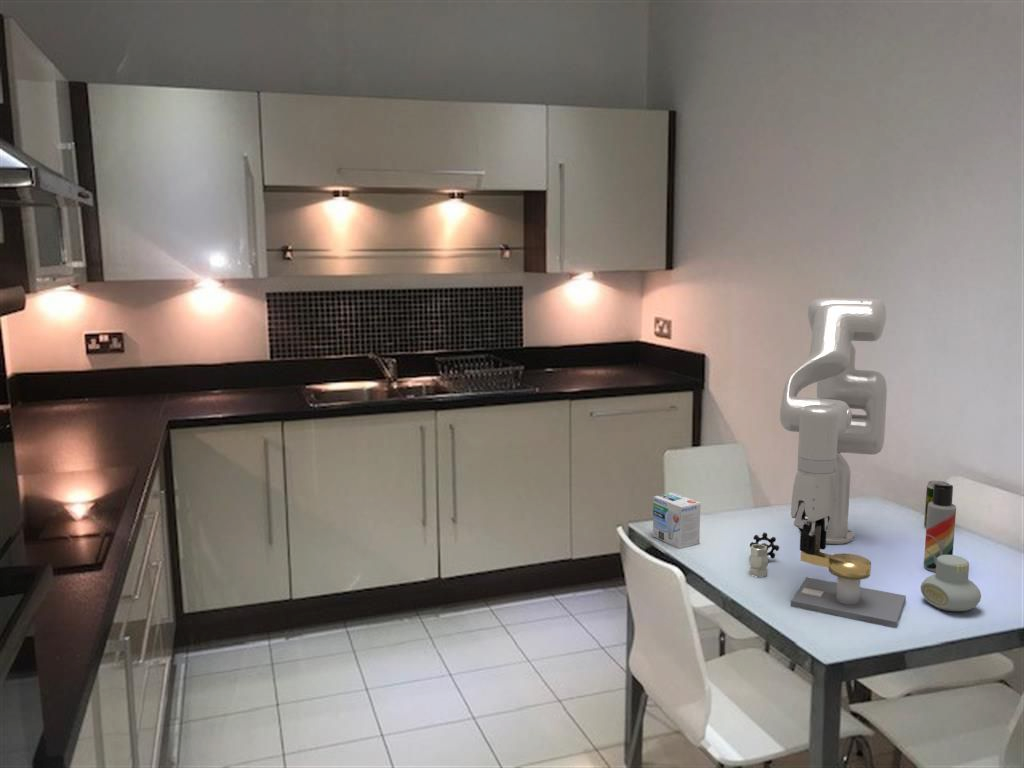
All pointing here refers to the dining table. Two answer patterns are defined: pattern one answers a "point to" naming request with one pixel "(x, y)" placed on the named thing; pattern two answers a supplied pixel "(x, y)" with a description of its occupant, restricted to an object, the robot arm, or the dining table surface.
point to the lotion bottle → (939, 526)
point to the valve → (761, 555)
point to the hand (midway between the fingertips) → (812, 549)
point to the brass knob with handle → (838, 561)
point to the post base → (849, 601)
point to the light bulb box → (676, 520)
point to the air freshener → (951, 585)
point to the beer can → (930, 495)
